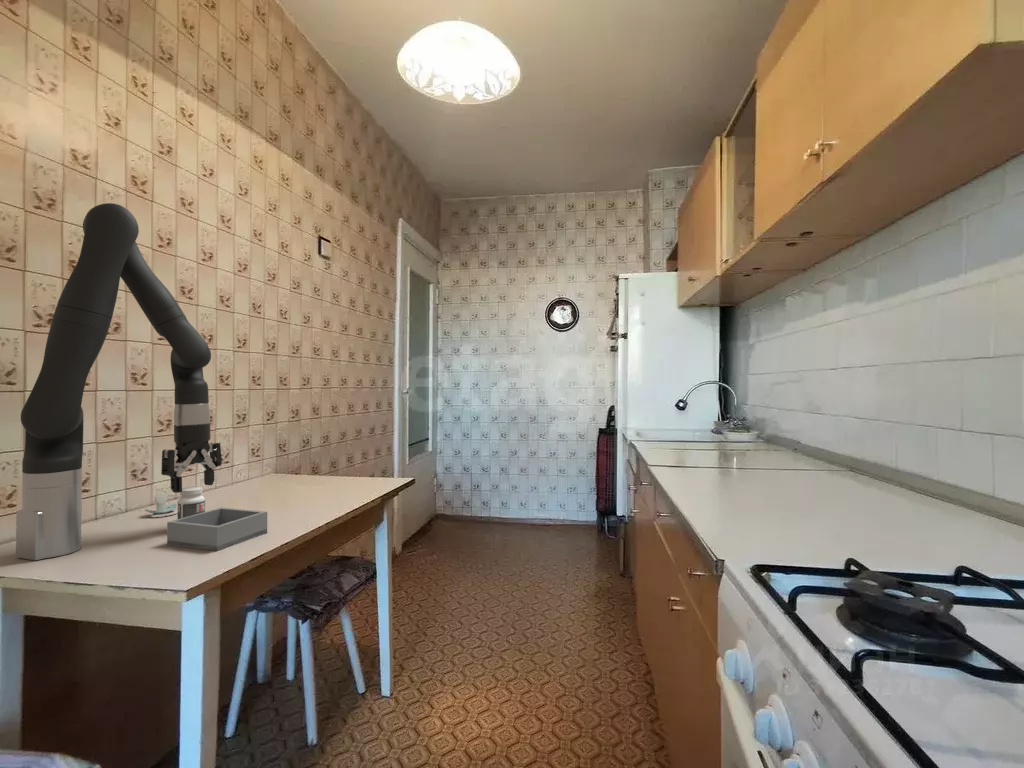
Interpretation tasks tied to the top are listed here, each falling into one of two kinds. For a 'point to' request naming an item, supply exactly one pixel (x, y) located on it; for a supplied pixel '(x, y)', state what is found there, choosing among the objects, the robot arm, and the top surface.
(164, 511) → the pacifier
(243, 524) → the bin
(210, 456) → the robot arm
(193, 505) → the pill bottle
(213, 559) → the top surface
